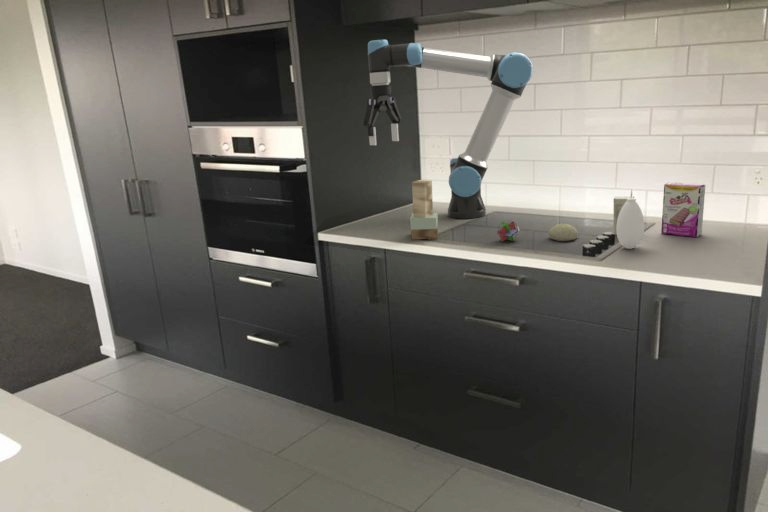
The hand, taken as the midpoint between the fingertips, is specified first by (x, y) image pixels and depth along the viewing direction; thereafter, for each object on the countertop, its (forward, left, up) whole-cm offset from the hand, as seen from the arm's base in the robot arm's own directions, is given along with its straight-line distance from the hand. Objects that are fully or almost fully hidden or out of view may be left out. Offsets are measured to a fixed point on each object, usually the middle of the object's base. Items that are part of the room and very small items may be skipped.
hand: (384, 143), depth 235 cm
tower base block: (-14, +21, -32) cm, 41 cm away
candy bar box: (-97, +33, -32) cm, 107 cm away
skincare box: (-80, +29, -32) cm, 91 cm away
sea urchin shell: (-60, +32, -32) cm, 75 cm away
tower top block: (-14, +21, -28) cm, 38 cm away
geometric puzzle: (-42, +32, -32) cm, 62 cm away
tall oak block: (-14, +21, -24) cm, 35 cm away
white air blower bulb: (-77, +47, -32) cm, 96 cm away
